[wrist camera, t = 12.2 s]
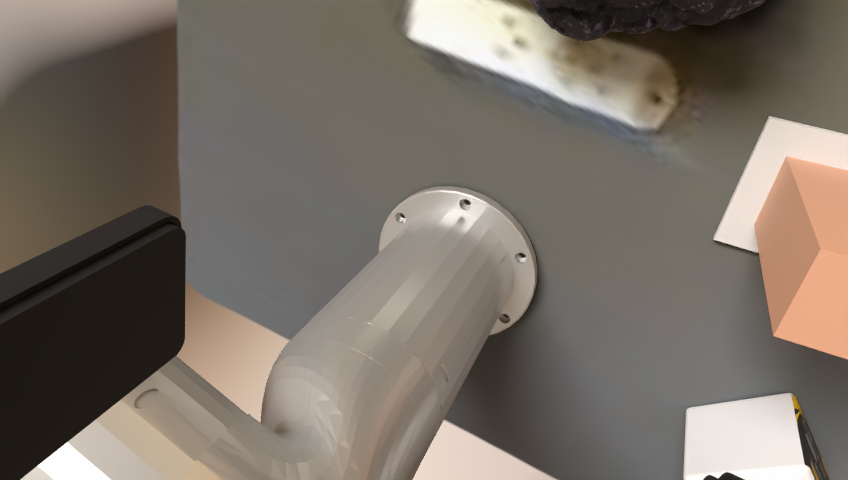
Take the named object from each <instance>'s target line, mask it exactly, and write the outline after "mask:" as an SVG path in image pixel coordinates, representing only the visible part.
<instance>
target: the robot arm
mask: <svg viewBox="0 0 848 480" xmlns="http://www.w3.org/2000/svg"><path fill="white" fill-rule="evenodd" d="M466 199H467V200H469V201H470V203H469V202H467V200H466ZM403 214H404V215H403ZM185 253H186V236H185V232H184V230H183V229H182V228H181V223H180V221H179V219H178V218H176V217H174V216H172V215H170V214H168V213H166V212H164V211H162V210H159V209H157V208H155V207H153V206H149V205H146V206H142V207H139V208H137V209H135V210H133V211H131V212H129V213H127V214H125V215H123V216H120V217H118V218H116V219H114V220H112V221H110V222H108V223H106V224H104V225H102V226H100V227H97V228H95V229H93V230H91V231H89V232H87V233H85V234H83V235H81V236H79V237H77V238H74V239H72V240H70V241H68V242H66V243H64V244H62V245H60V246H58V247H56V248H54V249H51V250H49V251H47V252H45V253H43V254H41V255H39V256H37V257H35V258H33V259H30V260H28V261H26V262H24V263H22V264H20V265H18V266H16V267H14V268H12V269H10V270H7V271H5V272H3V273H1V274H0V480H412V479H413V477H414V475H415V473H416V471H417V469H418V467H419V465H420V463H421V461H422V459H423V458H424V456H425V454H426V452H427V450H428V448H429V446H430V444H431V442H432V440H433V439H434V437H435V435H436V433H437V431H438V430H439V428H440V426H441V424H442V422H443V420H444V418H445V416H446V415H447V413H448V411H449V409H450V407H451V405H452V403H453V401H454V400H455V398H456V396H457V394H458V392H459V390H460V388H461V387H462V385H463V383H464V381H465V379H466V377H467V375H468V373H469V372H470V370H471V368H472V366H473V364H474V362H475V360H476V358H477V357H478V355H479V353H480V351H481V349H482V347H483V345H484V343H485V342H486V340H487V338H488V336H489V335H493V334H497V333H499V332H501V331H503V330H505V329H507V328H509V327H510V326H512V325H513V324H514V323H515V322H516V321H517V320H519V319H520V318H521V316H522V315H523V313H524V312H525V311H526V309H527V308H528V306H529V304H530V302H531V300H532V298H533V295H534V292H535V288H536V285H537V272H538V269H537V262H536V256H535V252H534V250H533V247H532V244H531V242H530V239H529V238H528V236H527V234H526V233H525V231H524V229H523V228H522V226H521V225H520V224H519V222H518V221H517V220H516V219H515V218H514V217H513V216H512V214H511V213H510V212H508V211H507V210H506V209H505V208H503V207H502V206H501V205H500V204H498V203H497V202H495V201H494V200H492V199H490V198H488V197H487V196H485V195H483V194H480V193H478V192H475V191H472V190H469V189H465V188H459V187H453V186H443V187H433V188H429V189H424V190H421V191H419V192H417V193H415V194H413V195H411V196H409V197H408V198H407V199H405V200H404V201H403V202H402V203H400V204H399V205H398V206H397V207H396V208H395V209H394V210H393V211H392V212H391V214H390V215H389V217H388V219H387V220H386V222H385V223H384V226H383V229H382V232H381V235H380V242H379V254H378V255H377V256H376V257H375V258H374V259H373V260H372V261H371V262H370V263H368V264H367V265H366V266H365V267H364V268H363V269H362V270H361V271H360V272H359V273H358V274H357V275H356V276H355V277H354V278H353V279H352V280H351V281H350V282H349V283H348V284H347V285H346V286H345V287H344V288H343V289H342V290H341V291H340V292H339V293H338V294H337V295H336V296H335V297H334V298H333V299H332V300H331V301H330V302H329V303H328V304H327V305H326V306H325V307H323V308H322V309H321V310H320V311H319V312H318V313H317V314H316V315H315V316H314V317H313V318H312V319H311V320H310V321H309V322H308V323H307V324H306V325H305V326H304V327H303V328H302V329H301V330H300V331H299V332H298V333H297V334H296V335H295V336H294V337H293V338H292V339H291V340H290V341H289V342H288V343H287V345H286V346H285V347H284V348H283V350H282V351H281V353H280V354H279V356H278V358H277V359H276V361H275V363H274V365H273V367H272V369H271V372H270V374H269V377H268V380H267V383H266V387H265V392H264V397H263V403H262V412H261V423H260V422H258V421H257V420H256V419H254V418H253V417H252V416H251V415H249V414H246V413H245V412H243V411H242V410H241V409H240V408H239V407H237V406H236V405H235V404H234V403H233V402H231V401H230V400H229V399H228V398H227V397H225V396H224V395H223V394H222V393H220V392H219V391H218V390H217V389H216V388H214V387H213V386H212V385H211V384H209V383H208V382H207V381H206V380H205V379H203V378H202V377H201V376H200V375H199V374H197V373H196V372H195V371H194V370H193V369H191V368H190V367H189V366H188V365H186V364H185V363H184V362H183V361H182V360H181V359H179V358H178V357H177V356H176V355H177V354H178V352H179V351H180V350H181V348H182V346H183V343H184V339H185ZM521 253H523V254H525V255H522V254H521ZM703 480H745V479H743V478H740V477H738V476H736V475H734V474H732V473H729V472H726V473H724V474H722V475H721V476H720V477H719V478H716V477H714V476H712V475H708V476H706V477H705V478H704V479H703Z"/></svg>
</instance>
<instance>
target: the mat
mask: <svg viewBox="0 0 848 480" xmlns="http://www.w3.org/2000/svg"><path fill="white" fill-rule="evenodd" d="M786 156H788V157H792V158H797V159H801V160H805V161H809V162H814V163H818V164H822V165H826V166H831V167H835V168H839V169H843V170H848V134H843V133H839V132H835V131H831V130H826V129H822V128H818V127H814V126H809V125H805V124H801V123H797V122H793V121H788V120H784V119H780V118H776V117H771V116H769V117H768V119H767V121H766V123H765V126H764V128H763V130H762V132H761V134H760V137H759V139H758V141H757V143H756V145H755V148H754V150H753V152H752V154H751V156H750V159H749V161H748V163H747V165H746V167H745V169H744V172H743V174H742V176H741V178H740V180H739V183H738V185H737V187H736V189H735V191H734V194H733V196H732V198H731V200H730V202H729V205H728V207H727V209H726V211H725V213H724V216H723V218H722V220H721V222H720V224H719V227H718V229H717V231H716V233H715V235H714V240H716V241H720V242H723V243H727V244H730V245H733V246H737V247H740V248H743V249H747V250H750V251H754V252H757V253H759V251H758V245H757V239H756V234H755V228H754V224H755V222H756V220H757V218H758V215H759V213H760V211H761V209H762V207H763V205H764V203H765V200H766V198H767V196H768V194H769V192H770V190H771V188H772V185H773V183H774V181H775V179H776V177H777V175H778V173H779V170H780V168H781V166H782V164H783V162H784V160H785V158H786Z"/></svg>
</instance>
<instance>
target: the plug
mask: <svg viewBox="0 0 848 480" xmlns="http://www.w3.org/2000/svg"><path fill="white" fill-rule="evenodd" d="M754 228H755V234H756V239H757V245H758V251H759V257H760V262H761V268H762V274H763V280H764V285H765V291H766V297H767V303H768V308H769V314H770V320H771V326H772V331H773V336H775V337H778V338H781V339H784V340H788V341H791V342H794V343H797V344H800V345H803V346H807V347H810V348H813V349H816V350H819V351H822V352H826V353H829V354H832V355H835V356H838V357H841V358H845V359H848V170H843V169H839V168H835V167H831V166H826V165H822V164H818V163H814V162H809V161H805V160H801V159H797V158H792V157H788V156H786V158H785V160H784V162H783V164H782V166H781V168H780V170H779V173H778V175H777V177H776V179H775V181H774V183H773V185H772V188H771V190H770V192H769V194H768V196H767V198H766V200H765V203H764V205H763V207H762V209H761V211H760V213H759V215H758V218H757V220H756V222H755V224H754Z"/></svg>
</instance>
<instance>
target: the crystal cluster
mask: <svg viewBox="0 0 848 480" xmlns="http://www.w3.org/2000/svg"><path fill="white" fill-rule="evenodd" d="M765 1H766V0H530V2H532V3H534V5H535V9H536V11H537V14H538V15H540V16H541V17H542V19H543V20H544V21H545V22H546V23H547V24H548V25H549V26H550V27H551V28H552V29H555V30H557V31H558V32H559V33H560V34H562V35H565V36H568V37H571V38H573V39H576V40H582V41H590V40H594V39H597V38H600V37H603V36H605V35H607V34H608V33H609V32H610V31H615V32H625V33H628V34H640V33H645V32H649V31H650V30H653V29H656V28H658V27H659V28H661V29H663V30H665V31H676V30H681V29H683V28H685V27H687V26H688V25H690V24H695V25H708V26H710V25H713V24H716V23H718V22H720V21H722V20H725V19H727V18H729V19H732V18H734V17H736V16H739V15H741V14H743V13H745V12H747V11H750V10H752V9H754V8H756V7H758V6H760V5H762V4H763V3H764V2H765Z"/></svg>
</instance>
